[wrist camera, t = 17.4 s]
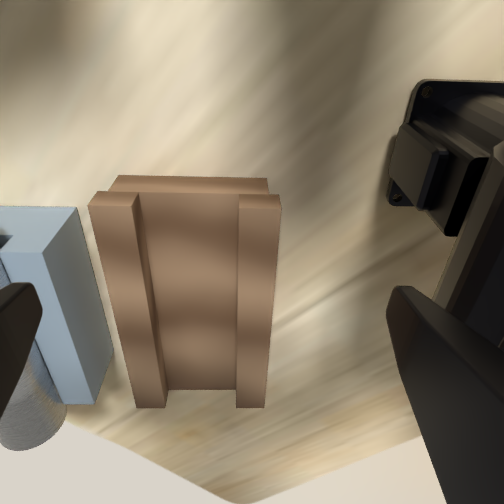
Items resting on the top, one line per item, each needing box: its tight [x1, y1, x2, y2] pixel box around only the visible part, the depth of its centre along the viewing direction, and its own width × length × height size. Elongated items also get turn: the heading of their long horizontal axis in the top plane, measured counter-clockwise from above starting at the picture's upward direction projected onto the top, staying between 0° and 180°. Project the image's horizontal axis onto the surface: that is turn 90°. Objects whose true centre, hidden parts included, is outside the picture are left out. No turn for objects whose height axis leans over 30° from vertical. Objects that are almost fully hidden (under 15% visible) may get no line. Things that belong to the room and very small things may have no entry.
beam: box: [87, 175, 281, 408], centre depth 24 cm, size 16×9×4 cm, turn 178°
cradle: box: [0, 206, 114, 404], centre depth 23 cm, size 12×10×4 cm
